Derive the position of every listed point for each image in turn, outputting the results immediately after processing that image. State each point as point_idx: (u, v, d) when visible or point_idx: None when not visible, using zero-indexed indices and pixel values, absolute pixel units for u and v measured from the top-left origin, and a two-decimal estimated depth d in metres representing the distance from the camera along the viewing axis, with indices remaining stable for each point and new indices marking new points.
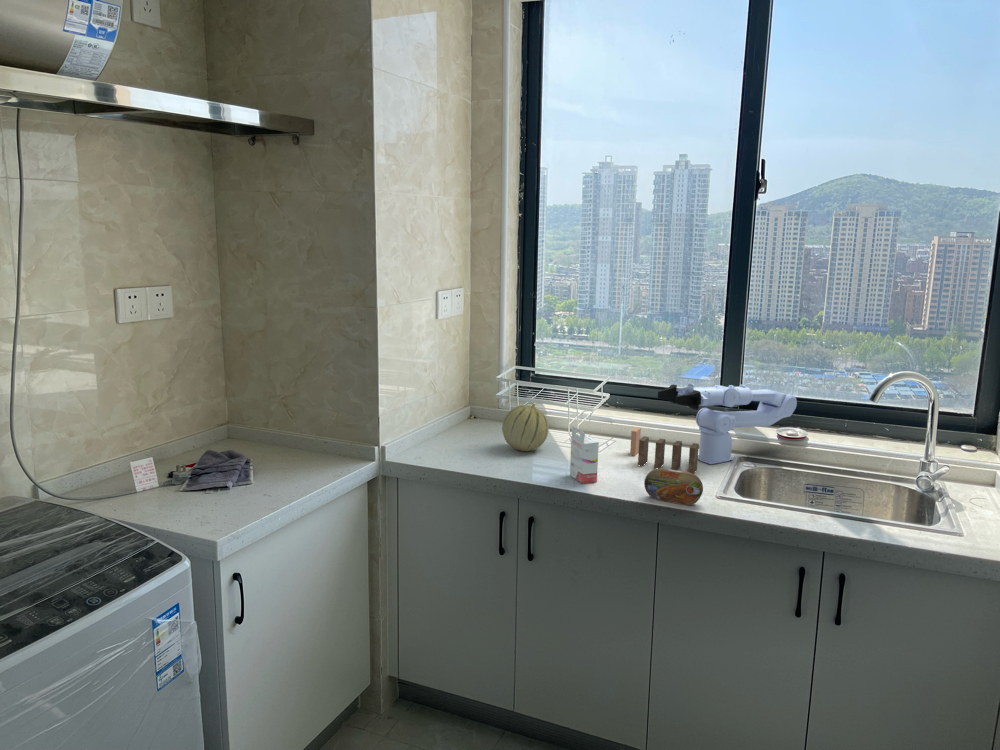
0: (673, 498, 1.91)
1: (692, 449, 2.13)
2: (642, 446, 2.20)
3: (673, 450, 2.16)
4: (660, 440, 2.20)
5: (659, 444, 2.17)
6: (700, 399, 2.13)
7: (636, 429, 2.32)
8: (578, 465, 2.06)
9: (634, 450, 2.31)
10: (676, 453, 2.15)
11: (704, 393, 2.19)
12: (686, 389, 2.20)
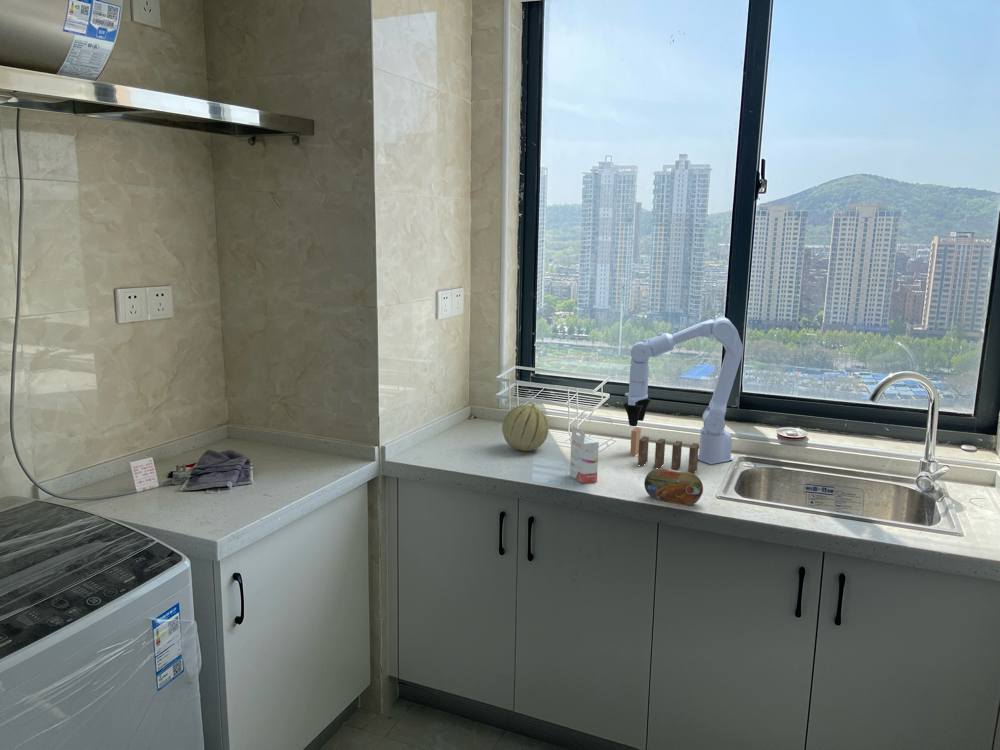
0: (673, 498, 1.91)
1: (692, 449, 2.13)
2: (642, 446, 2.20)
3: (673, 450, 2.16)
4: (660, 440, 2.20)
5: (659, 444, 2.17)
6: (630, 405, 2.25)
7: (636, 429, 2.32)
8: (578, 465, 2.06)
9: (634, 450, 2.31)
10: (676, 453, 2.15)
11: (631, 386, 2.27)
12: None
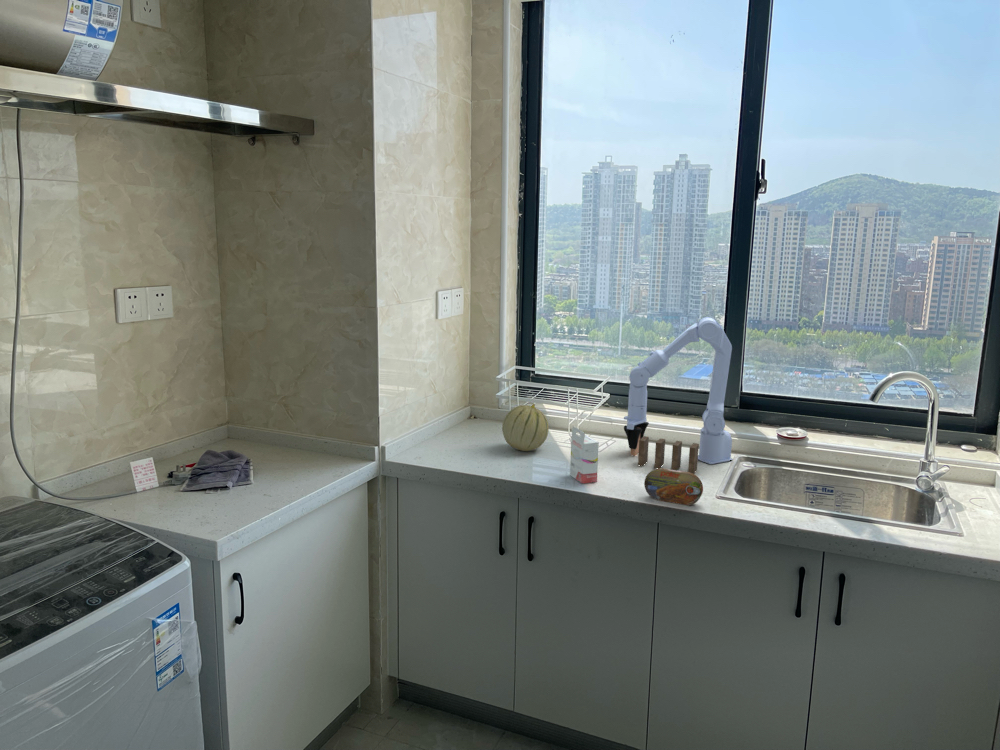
0: (673, 498, 1.91)
1: (692, 449, 2.13)
2: (642, 446, 2.20)
3: (673, 450, 2.16)
4: (660, 440, 2.20)
5: (659, 444, 2.17)
6: None
7: None
8: (578, 465, 2.06)
9: (634, 450, 2.31)
10: (676, 453, 2.15)
11: (630, 410, 2.29)
12: None
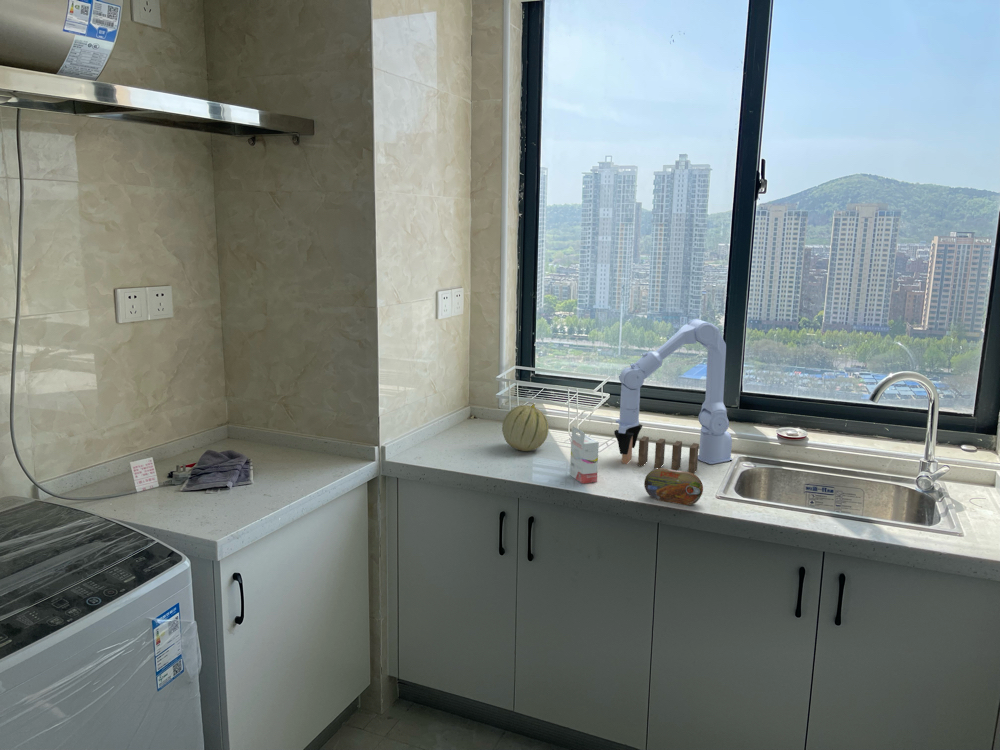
0: (673, 498, 1.91)
1: (692, 449, 2.13)
2: (642, 446, 2.20)
3: (673, 450, 2.16)
4: (660, 440, 2.20)
5: (659, 444, 2.17)
6: (620, 433, 2.18)
7: None
8: (578, 465, 2.06)
9: (626, 458, 2.23)
10: (676, 453, 2.15)
11: (622, 413, 2.21)
12: None
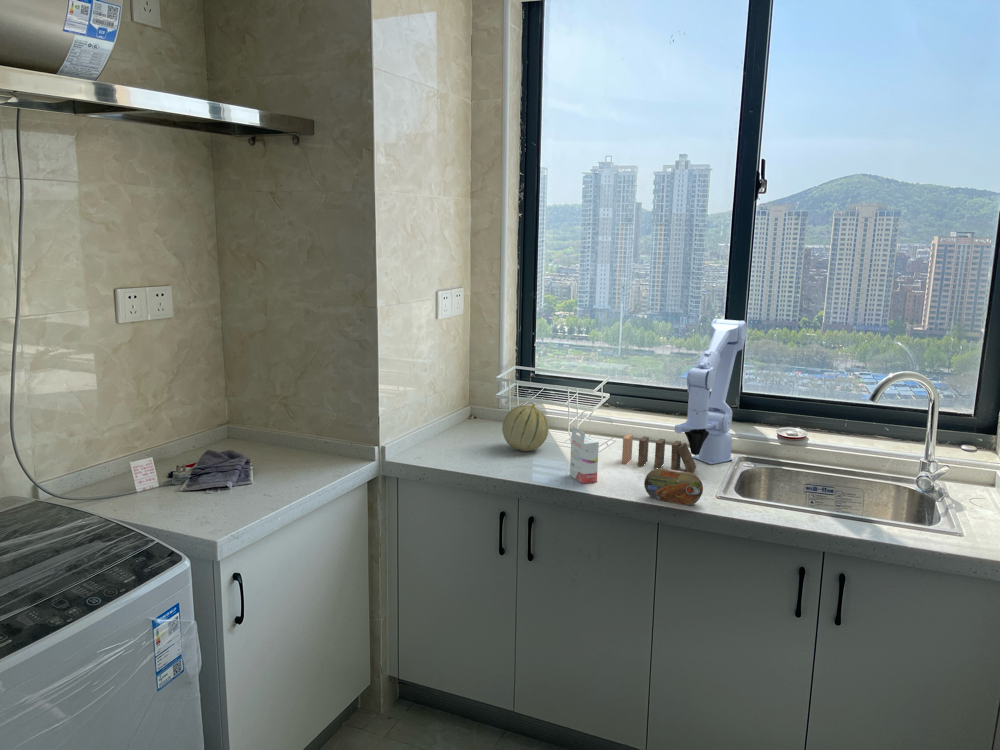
0: (673, 498, 1.91)
1: (680, 449, 2.15)
2: (642, 446, 2.20)
3: (672, 450, 2.16)
4: (660, 440, 2.20)
5: (659, 444, 2.17)
6: None
7: (628, 436, 2.24)
8: (578, 465, 2.06)
9: (626, 458, 2.23)
10: (675, 453, 2.15)
11: None
12: None
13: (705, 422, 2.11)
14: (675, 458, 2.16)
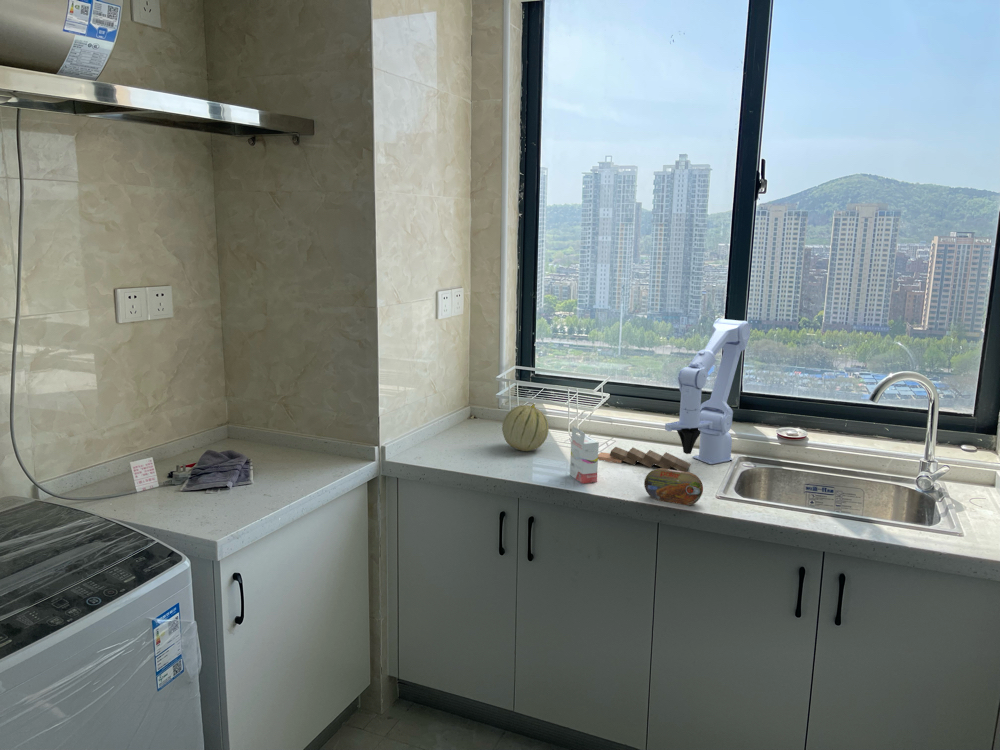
0: (673, 498, 1.91)
1: (662, 459, 2.17)
2: (616, 454, 2.24)
3: (648, 460, 2.19)
4: None
5: (629, 453, 2.22)
6: (679, 430, 2.15)
7: None
8: (578, 465, 2.06)
9: (615, 460, 2.24)
10: (652, 458, 2.19)
11: None
12: None
13: (696, 421, 2.12)
14: (657, 461, 2.18)
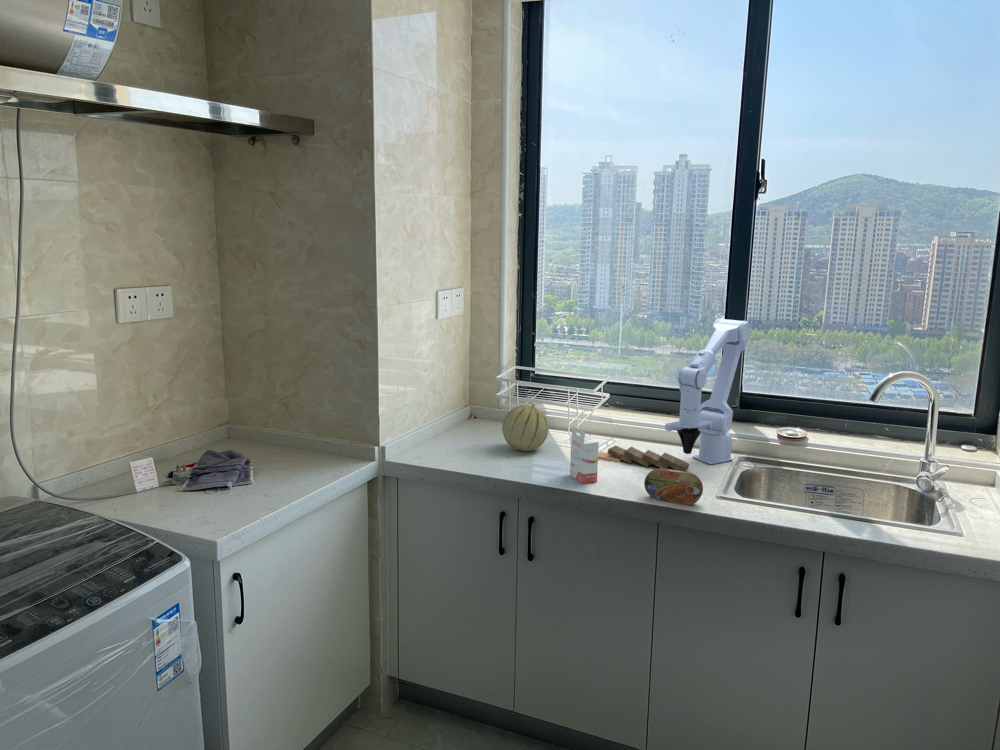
0: (673, 498, 1.91)
1: (661, 459, 2.17)
2: (613, 452, 2.26)
3: (646, 460, 2.20)
4: None
5: (626, 452, 2.23)
6: (679, 430, 2.15)
7: None
8: (578, 465, 2.06)
9: (613, 460, 2.25)
10: (650, 458, 2.19)
11: None
12: None
13: (696, 421, 2.12)
14: (655, 461, 2.19)
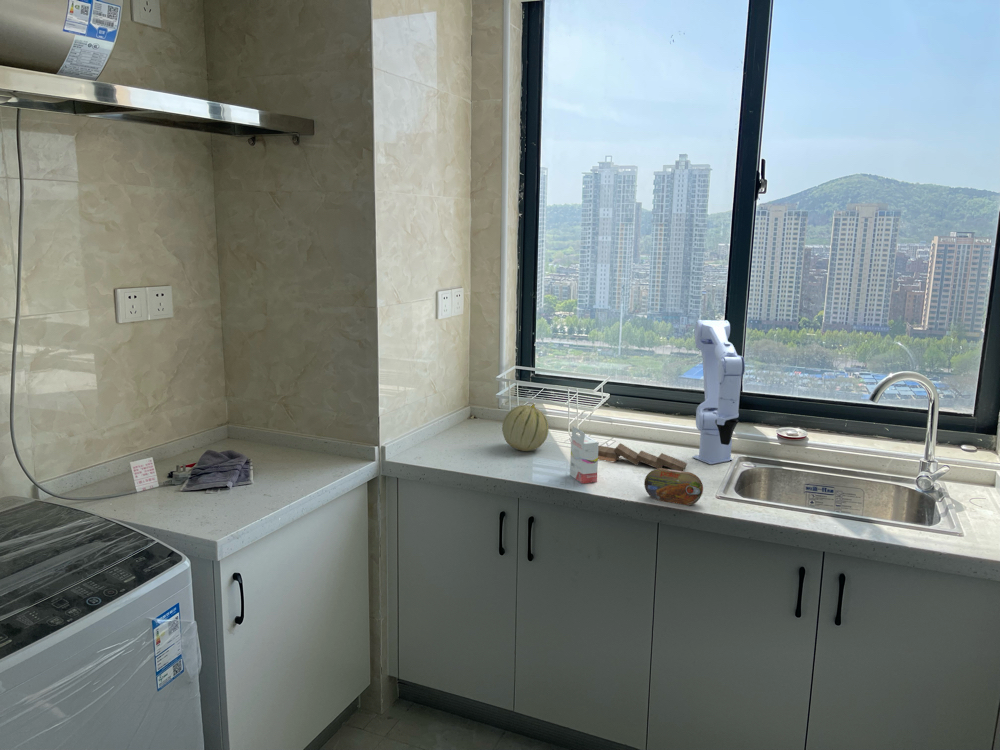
0: (673, 498, 1.91)
1: (658, 460, 2.18)
2: None
3: (641, 461, 2.20)
4: None
5: (616, 449, 2.23)
6: None
7: None
8: (578, 465, 2.06)
9: (609, 459, 2.25)
10: (644, 458, 2.20)
11: (720, 404, 2.09)
12: None
13: None
14: (649, 461, 2.19)
